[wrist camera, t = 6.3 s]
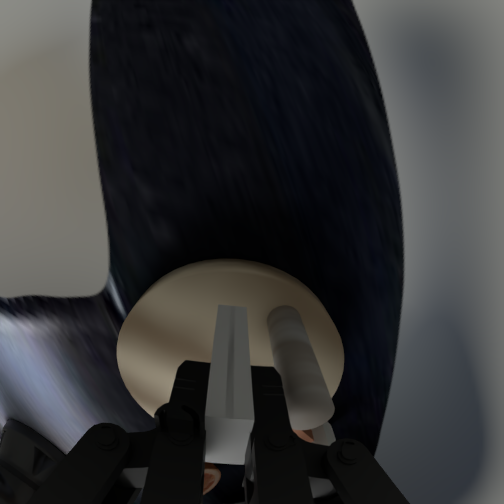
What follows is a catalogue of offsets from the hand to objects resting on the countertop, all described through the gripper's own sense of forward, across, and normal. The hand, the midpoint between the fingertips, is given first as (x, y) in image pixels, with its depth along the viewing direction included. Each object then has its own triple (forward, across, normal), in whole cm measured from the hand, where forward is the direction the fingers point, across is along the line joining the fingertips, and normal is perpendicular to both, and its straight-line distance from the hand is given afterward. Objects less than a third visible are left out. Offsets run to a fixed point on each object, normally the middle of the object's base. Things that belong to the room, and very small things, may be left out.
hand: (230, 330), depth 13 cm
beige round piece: (+5, +2, -7) cm, 9 cm away
